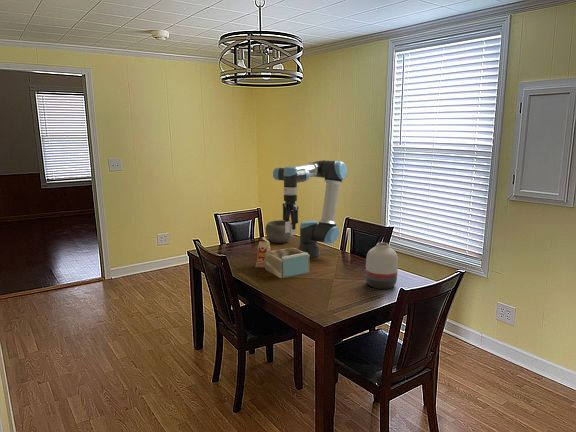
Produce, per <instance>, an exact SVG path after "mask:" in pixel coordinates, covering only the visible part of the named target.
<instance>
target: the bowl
mask: <svg viewBox="0 0 576 432" xmlns="http://www.w3.org/2000/svg"><path fill="white" fill-rule="evenodd" d="M288 222H290V233H285V221H284V220H283V219H282V220H281V219H280V220H278V219H277V220H271V221H268V222H267V223H266V225H265V235H266V237H267V239H268V240H270V241H271V242H272V243H274V244H275V243H276V244H283V243H287V242H288V241H289V240H290V239H291V238H292V236H293V235H291V223H292V222H291V220H290V221H288Z"/></svg>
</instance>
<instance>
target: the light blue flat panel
mask: <svg viewBox="0 0 576 432" xmlns="http://www.w3.org/2000/svg"><path fill="white" fill-rule="evenodd" d="M307 274H310V271H309V272H308V253H307V252H306V253H301V254H295V255H290V256H284V257H282V278H281V279H287V278H293V277H297V276H302V275H307Z"/></svg>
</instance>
